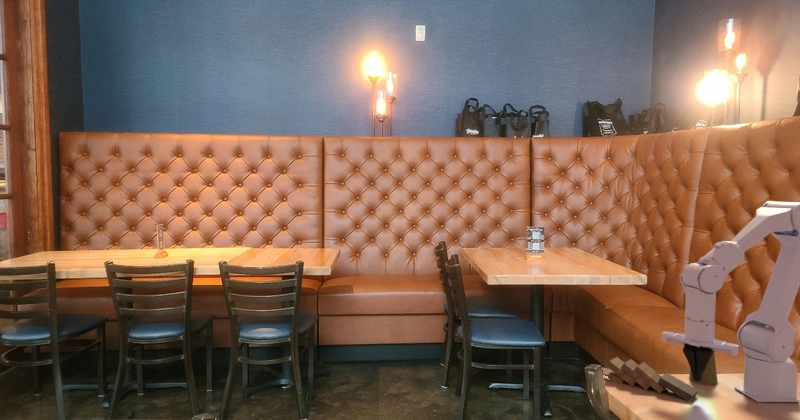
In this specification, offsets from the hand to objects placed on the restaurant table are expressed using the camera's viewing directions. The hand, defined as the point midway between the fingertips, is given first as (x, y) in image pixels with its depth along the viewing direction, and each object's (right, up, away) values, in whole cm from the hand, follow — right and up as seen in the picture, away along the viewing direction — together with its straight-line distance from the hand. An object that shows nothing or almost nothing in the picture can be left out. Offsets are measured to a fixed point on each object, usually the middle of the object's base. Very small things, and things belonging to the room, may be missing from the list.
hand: (697, 380), depth 114 cm
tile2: (-5, -4, +5) cm, 7 cm away
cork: (+8, -4, +12) cm, 15 cm away
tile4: (-9, -3, +9) cm, 13 cm away
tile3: (-7, -3, +7) cm, 10 cm away
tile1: (0, -4, +1) cm, 4 cm away
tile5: (-11, -3, +11) cm, 16 cm away
